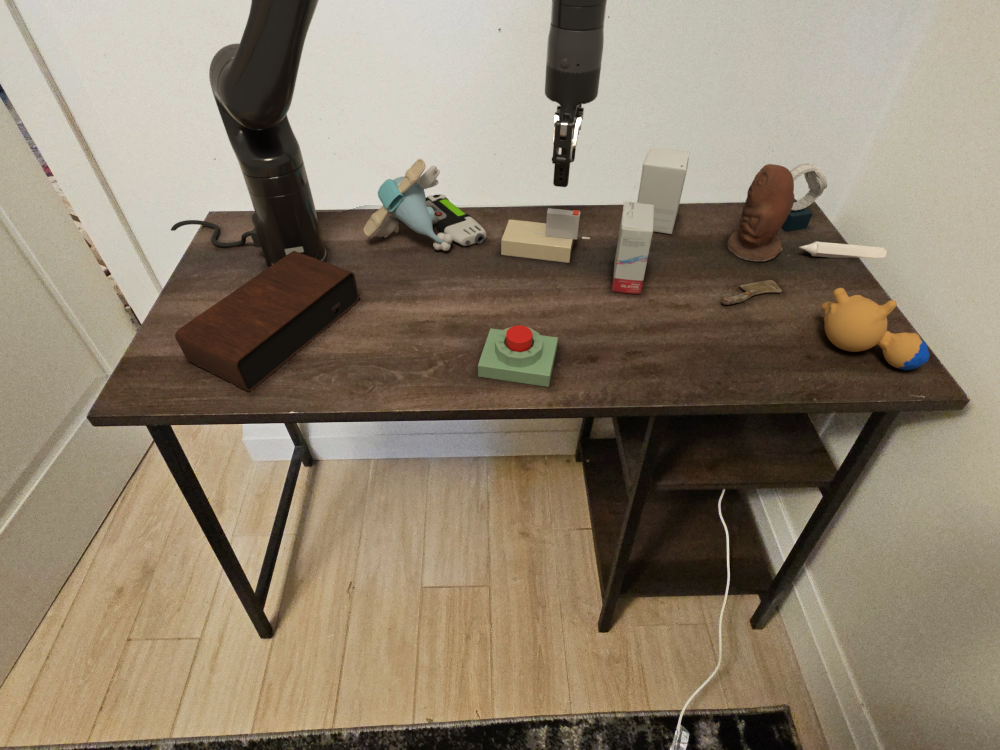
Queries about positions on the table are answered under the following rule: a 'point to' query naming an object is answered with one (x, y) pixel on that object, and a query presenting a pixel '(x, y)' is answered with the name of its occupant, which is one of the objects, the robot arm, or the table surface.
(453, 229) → the toy gun
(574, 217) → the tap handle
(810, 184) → the watch
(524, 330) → the stop button
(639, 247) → the ink box
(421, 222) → the toy figure
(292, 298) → the alarm clock
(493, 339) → the button box
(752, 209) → the figurine
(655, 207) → the white packaging box
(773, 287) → the meat cleaver
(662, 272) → the table surface
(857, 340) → the toy
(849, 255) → the white pointed rod
